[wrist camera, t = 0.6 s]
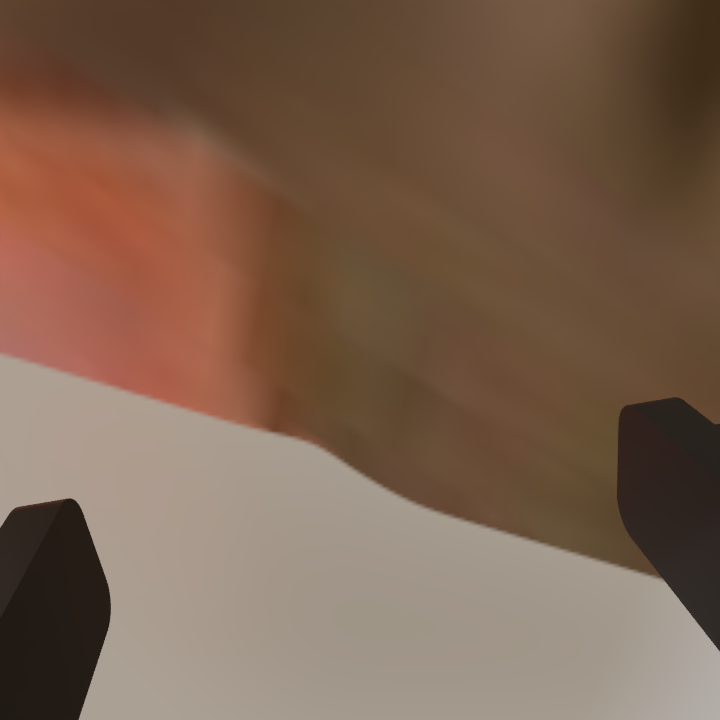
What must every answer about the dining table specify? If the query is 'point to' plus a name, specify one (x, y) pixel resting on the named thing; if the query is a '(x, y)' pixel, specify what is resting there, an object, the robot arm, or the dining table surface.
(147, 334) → the dining table surface
